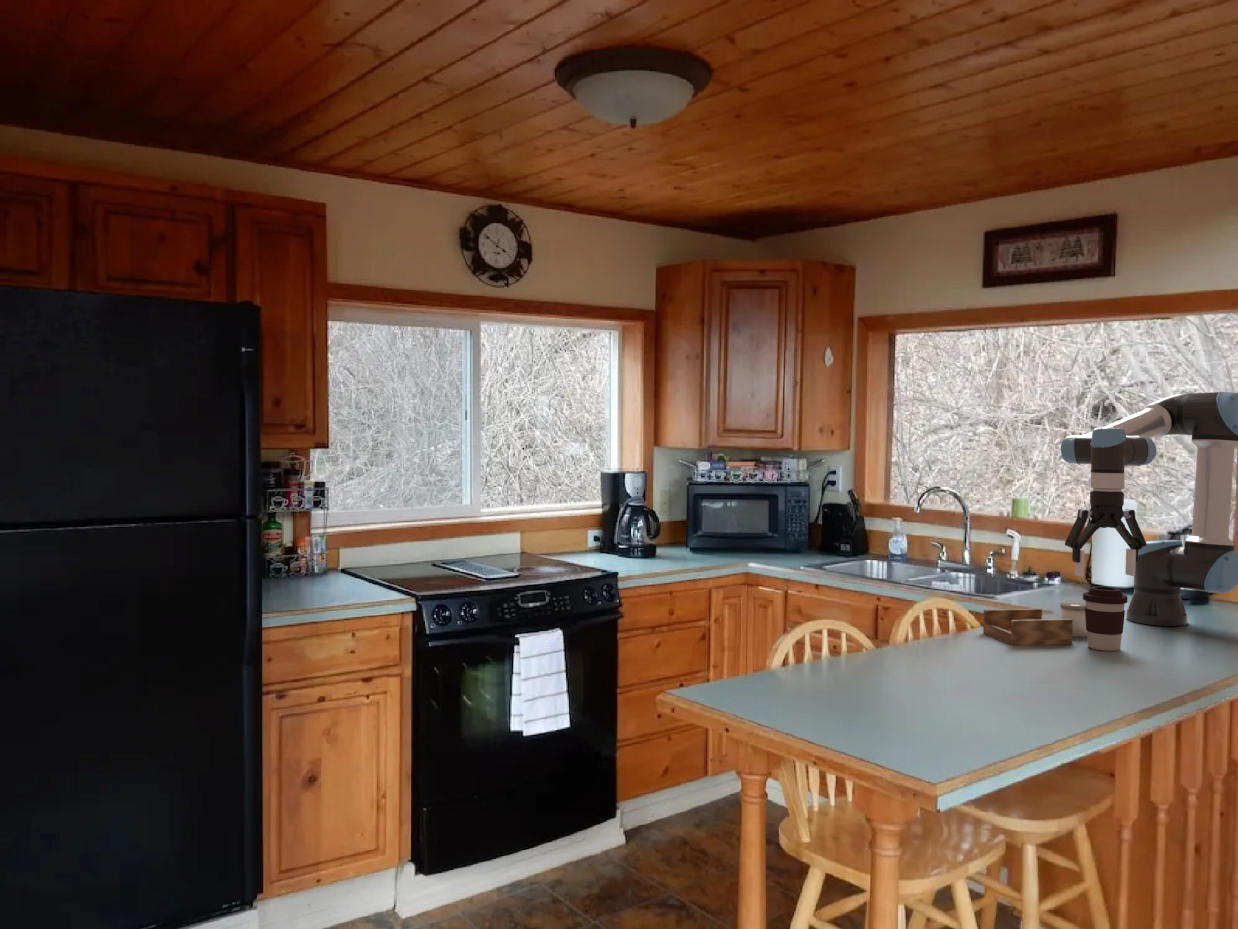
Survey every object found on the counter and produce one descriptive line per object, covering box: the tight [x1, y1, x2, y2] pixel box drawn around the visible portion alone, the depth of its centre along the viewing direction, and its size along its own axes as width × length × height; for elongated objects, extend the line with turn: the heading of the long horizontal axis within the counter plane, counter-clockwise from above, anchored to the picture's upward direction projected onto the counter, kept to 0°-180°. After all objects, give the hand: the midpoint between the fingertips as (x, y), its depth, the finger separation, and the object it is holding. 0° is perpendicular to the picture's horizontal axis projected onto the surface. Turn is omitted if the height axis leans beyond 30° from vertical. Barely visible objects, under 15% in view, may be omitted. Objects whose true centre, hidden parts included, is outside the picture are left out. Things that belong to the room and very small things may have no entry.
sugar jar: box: [1059, 601, 1087, 637], centre depth 259 cm, size 8×8×8 cm
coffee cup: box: [1082, 586, 1129, 652], centre depth 241 cm, size 10×10×15 cm
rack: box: [982, 608, 1073, 646], centre depth 253 cm, size 16×15×6 cm
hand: (1104, 575), depth 241 cm, fingers open, 13 cm apart
